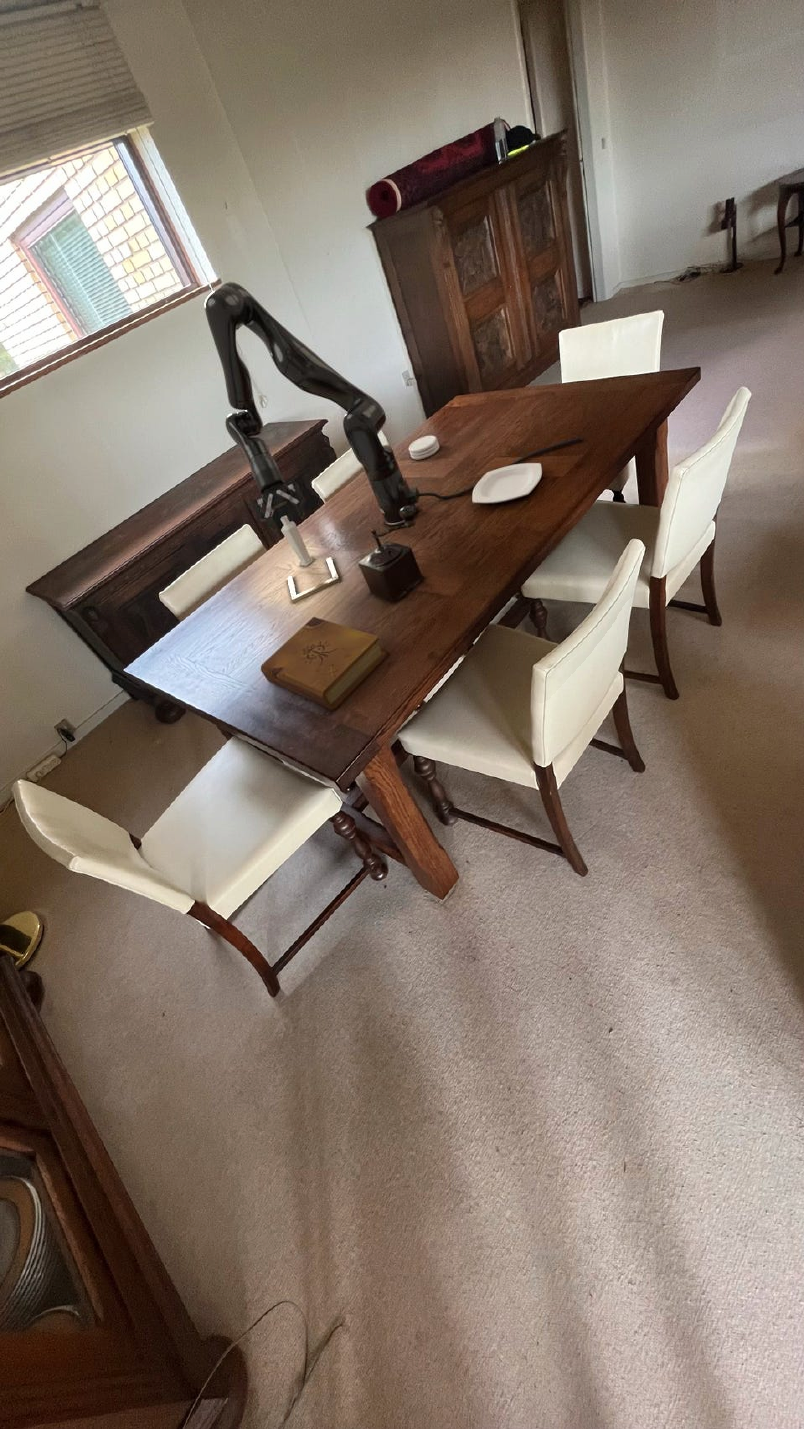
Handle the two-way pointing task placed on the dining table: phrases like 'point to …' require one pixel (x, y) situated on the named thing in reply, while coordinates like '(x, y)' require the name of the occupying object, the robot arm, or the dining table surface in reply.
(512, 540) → the dining table surface
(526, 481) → the plate
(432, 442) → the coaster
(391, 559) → the black coffee grinder
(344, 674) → the diary
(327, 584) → the brass frame
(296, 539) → the white faceted vase
